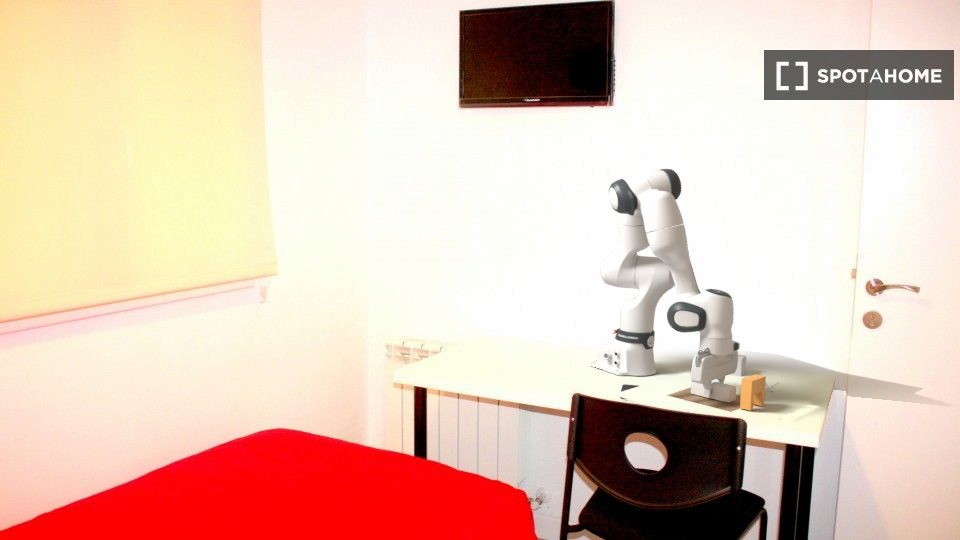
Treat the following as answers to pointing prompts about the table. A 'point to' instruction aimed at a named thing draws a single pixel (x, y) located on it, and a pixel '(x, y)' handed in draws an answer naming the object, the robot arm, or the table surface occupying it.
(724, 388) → the long white block
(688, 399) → the board
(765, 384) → the scissors
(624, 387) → the phone
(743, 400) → the upright orange block
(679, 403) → the table surface
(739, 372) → the grey block
